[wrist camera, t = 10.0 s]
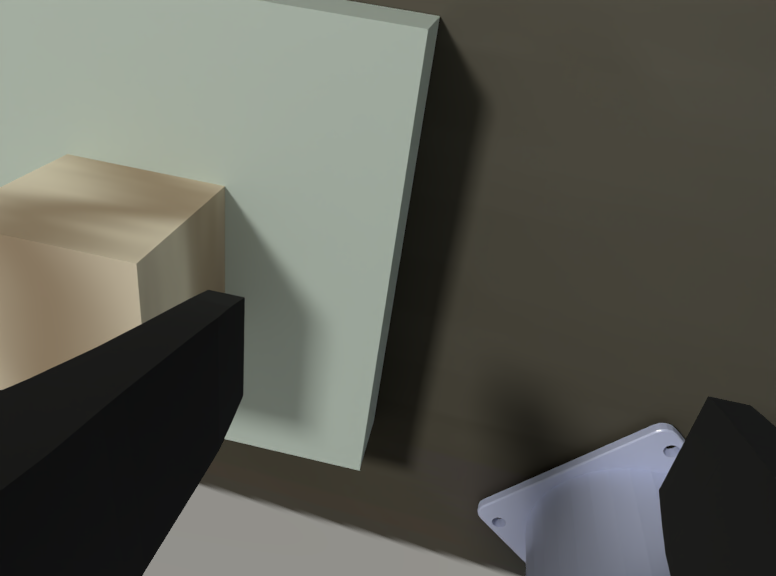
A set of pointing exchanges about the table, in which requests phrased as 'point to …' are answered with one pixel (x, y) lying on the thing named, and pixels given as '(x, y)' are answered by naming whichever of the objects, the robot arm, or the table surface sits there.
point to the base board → (251, 169)
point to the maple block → (99, 256)
